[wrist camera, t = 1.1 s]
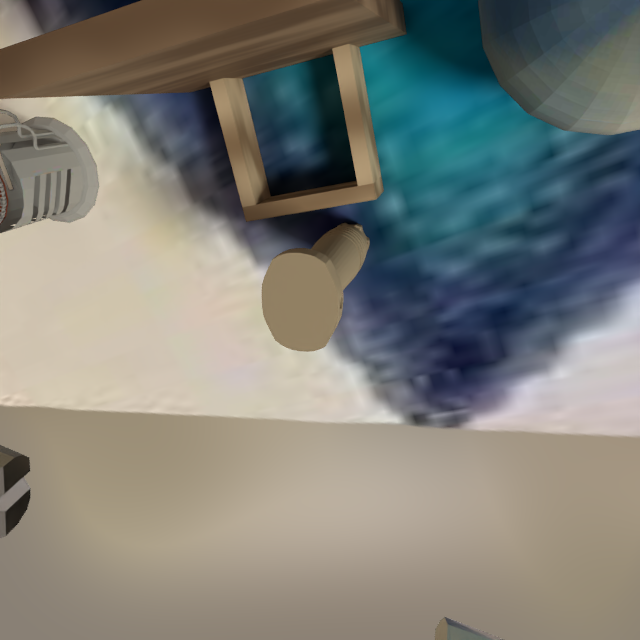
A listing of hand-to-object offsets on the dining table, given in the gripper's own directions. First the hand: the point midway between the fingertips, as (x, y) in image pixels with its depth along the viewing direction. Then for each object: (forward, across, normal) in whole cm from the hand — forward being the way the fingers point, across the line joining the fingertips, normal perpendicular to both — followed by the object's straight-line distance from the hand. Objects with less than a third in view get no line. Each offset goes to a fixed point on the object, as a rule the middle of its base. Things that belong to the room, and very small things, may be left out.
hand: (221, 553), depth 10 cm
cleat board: (+37, +10, -3) cm, 39 cm away
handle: (+38, +4, +5) cm, 38 cm away
